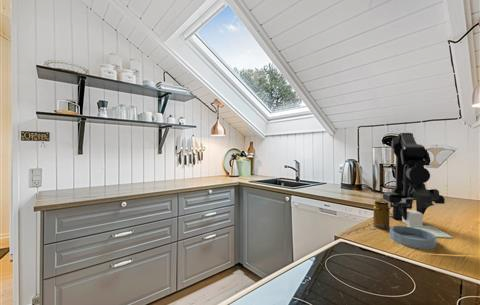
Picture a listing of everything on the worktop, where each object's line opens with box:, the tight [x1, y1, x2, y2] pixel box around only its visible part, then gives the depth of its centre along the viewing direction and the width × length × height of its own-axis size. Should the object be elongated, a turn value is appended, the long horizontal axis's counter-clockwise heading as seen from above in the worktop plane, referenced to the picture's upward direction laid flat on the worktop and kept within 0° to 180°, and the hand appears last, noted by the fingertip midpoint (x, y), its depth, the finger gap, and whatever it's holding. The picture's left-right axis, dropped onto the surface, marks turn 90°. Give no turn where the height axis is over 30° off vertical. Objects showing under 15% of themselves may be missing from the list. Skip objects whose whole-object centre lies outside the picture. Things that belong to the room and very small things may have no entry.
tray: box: [405, 224, 453, 239], centre depth 95 cm, size 12×10×1 cm
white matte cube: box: [401, 209, 424, 226], centre depth 86 cm, size 4×4×4 cm
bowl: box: [389, 225, 437, 250], centre depth 86 cm, size 14×14×4 cm
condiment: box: [370, 200, 391, 230], centre depth 100 cm, size 7×8×12 cm
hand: (412, 220), depth 86 cm, fingers closed on white matte cube, 4 cm apart
